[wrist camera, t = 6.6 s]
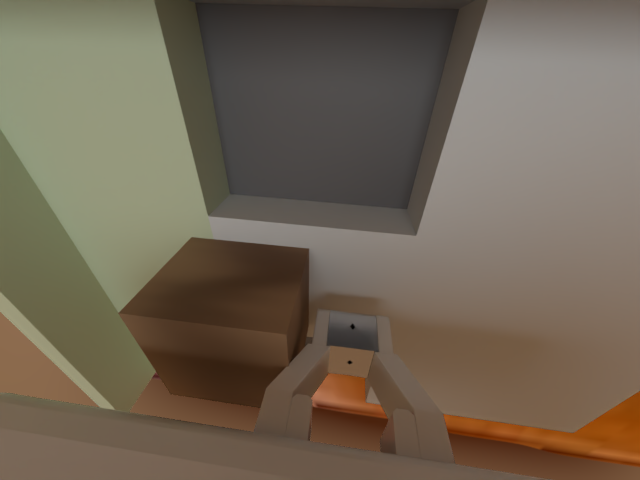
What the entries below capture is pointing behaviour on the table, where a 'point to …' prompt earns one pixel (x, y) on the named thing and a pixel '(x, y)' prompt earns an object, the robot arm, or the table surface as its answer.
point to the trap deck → (338, 181)
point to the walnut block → (223, 318)
